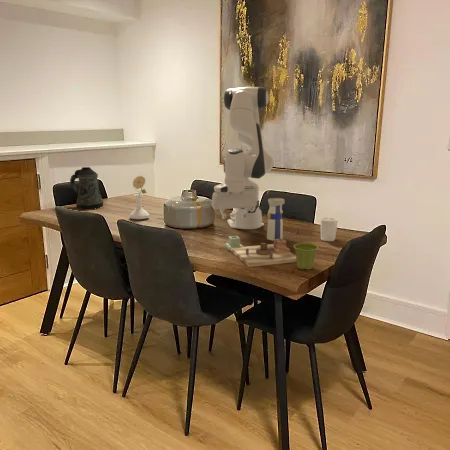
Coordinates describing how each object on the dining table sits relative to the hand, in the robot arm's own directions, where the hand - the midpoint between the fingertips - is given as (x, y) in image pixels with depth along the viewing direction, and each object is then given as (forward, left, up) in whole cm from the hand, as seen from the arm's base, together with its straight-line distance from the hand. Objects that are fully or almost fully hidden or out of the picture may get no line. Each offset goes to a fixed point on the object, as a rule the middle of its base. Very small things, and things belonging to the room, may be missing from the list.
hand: (234, 218), depth 202 cm
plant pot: (+33, +18, -14) cm, 40 cm away
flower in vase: (-69, -32, -14) cm, 78 cm away
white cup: (0, +48, -14) cm, 50 cm away
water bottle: (-9, +24, -14) cm, 30 cm away
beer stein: (-111, -59, -14) cm, 127 cm away
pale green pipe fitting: (0, 0, -14) cm, 14 cm away
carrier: (+15, +8, -14) cm, 22 cm away
